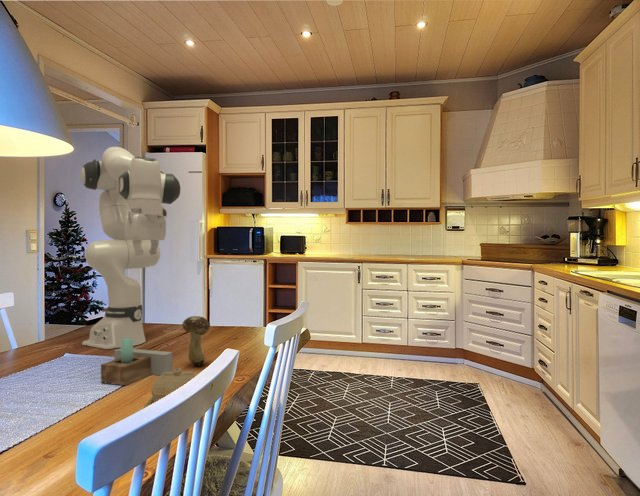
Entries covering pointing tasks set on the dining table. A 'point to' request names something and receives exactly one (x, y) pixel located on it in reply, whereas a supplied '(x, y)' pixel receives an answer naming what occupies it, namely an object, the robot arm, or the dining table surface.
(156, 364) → the wall
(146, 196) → the robot arm
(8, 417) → the dining table surface
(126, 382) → the open box
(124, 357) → the green rectangular block
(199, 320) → the mushroom
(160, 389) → the ceramic model
